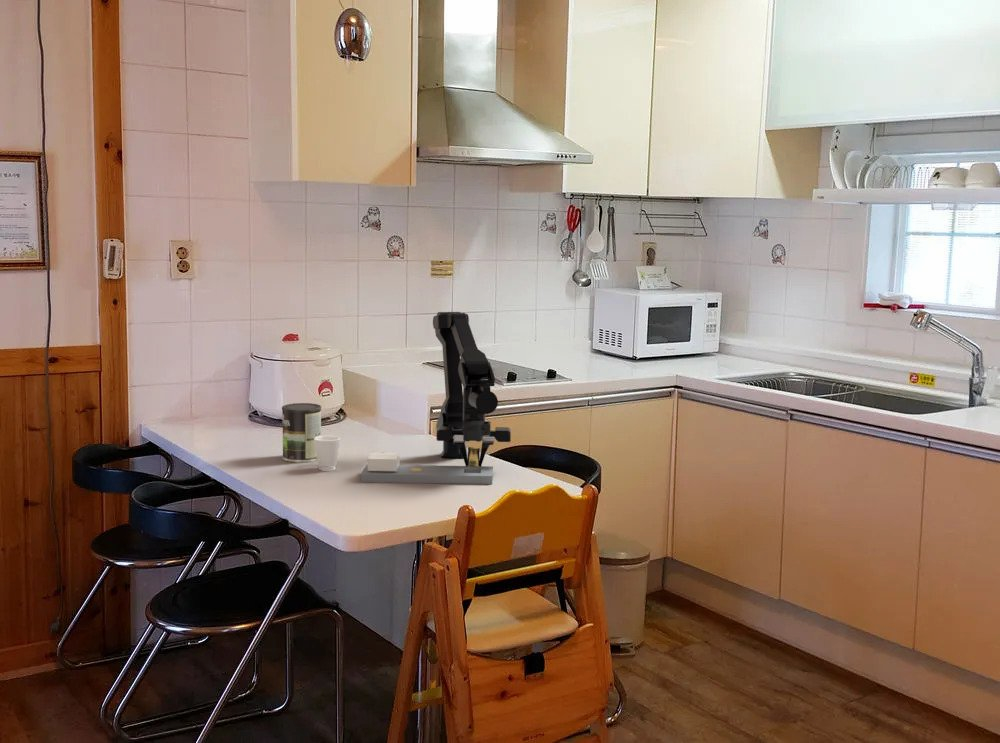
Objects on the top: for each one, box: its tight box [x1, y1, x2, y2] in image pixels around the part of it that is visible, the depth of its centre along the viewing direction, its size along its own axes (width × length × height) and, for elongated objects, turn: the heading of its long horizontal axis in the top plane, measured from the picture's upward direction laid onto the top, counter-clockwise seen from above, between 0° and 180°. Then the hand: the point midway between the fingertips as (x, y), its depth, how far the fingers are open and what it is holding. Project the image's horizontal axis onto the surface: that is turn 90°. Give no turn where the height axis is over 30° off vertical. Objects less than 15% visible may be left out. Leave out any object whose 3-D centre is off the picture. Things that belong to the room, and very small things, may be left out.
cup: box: [314, 435, 341, 472], centre depth 264 cm, size 7×10×8 cm
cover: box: [367, 452, 400, 471], centre depth 255 cm, size 7×7×3 cm
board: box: [360, 463, 494, 485], centre depth 255 cm, size 10×32×2 cm, turn 90°
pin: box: [467, 446, 481, 466], centre depth 263 cm, size 3×3×6 cm
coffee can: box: [281, 402, 322, 464], centre depth 273 cm, size 10×10×14 cm
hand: (473, 467), depth 263 cm, fingers closed on pin, 3 cm apart
